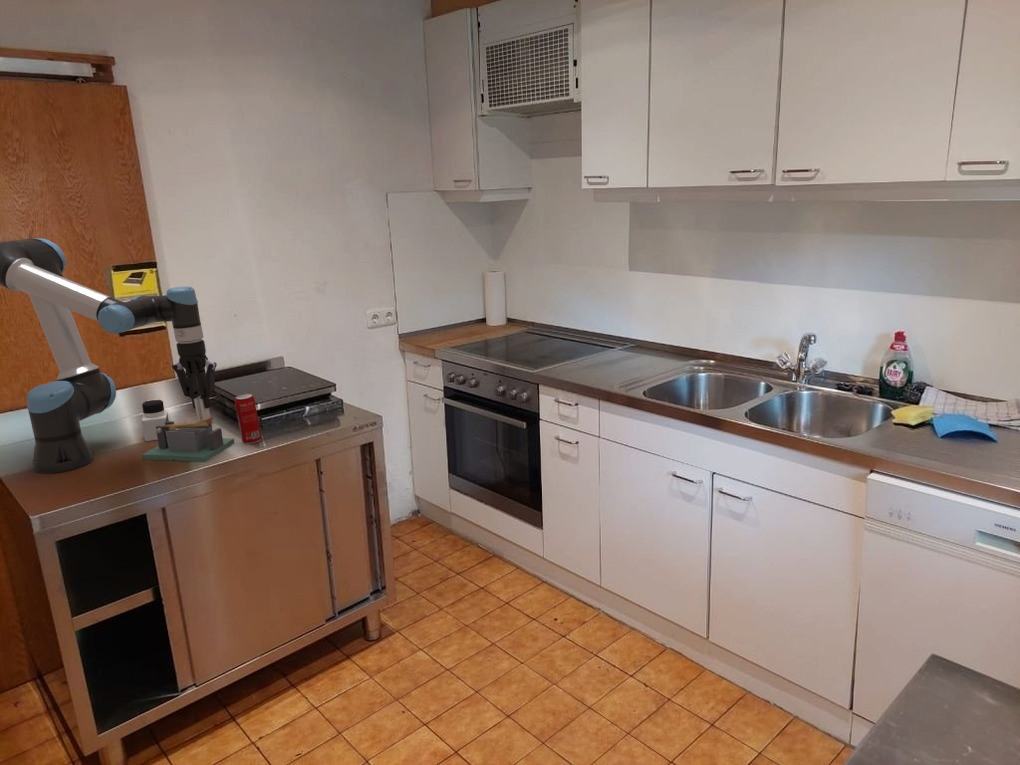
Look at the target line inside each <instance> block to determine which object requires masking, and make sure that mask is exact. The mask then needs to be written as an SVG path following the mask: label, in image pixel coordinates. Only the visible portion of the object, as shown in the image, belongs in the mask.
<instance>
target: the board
mask: <svg viewBox="0 0 1020 765" xmlns="http://www.w3.org/2000/svg"><path fill="white" fill-rule="evenodd" d="M186 422H187V421H184V422H183V423H186ZM167 424H175V421H173V420H171V421H170V420H169V421H166V422H165V425H167ZM212 425H213V422H212V423H211V424H210V425H208V426H199V427H189V428H180V429H170V430H166V429H165V426H156V432H157V438H158V440H157V444H158V445H157V446H155V447H153V448H151V449H150V450H147V452H144V453H142V459H143V460H152V461H154V460H155V461H170V462H171V461H172V460H175V461H174V462H193V461H198V462H199V463H206V462H207V461H209V460H210V459H212V458H213V456H214V457H216V454H217V455H218V454H220V453H221V452H223V451H224V450H226V449H227V448H229V447H231V446H232V445H234V444H235V438H227V437H226V438H225V437H223V433H222V432H223V431H222V427H221V428H220V427H219V428H218V427H217V428H215V429H213V426H212ZM166 432H167V435H166Z"/></svg>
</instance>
